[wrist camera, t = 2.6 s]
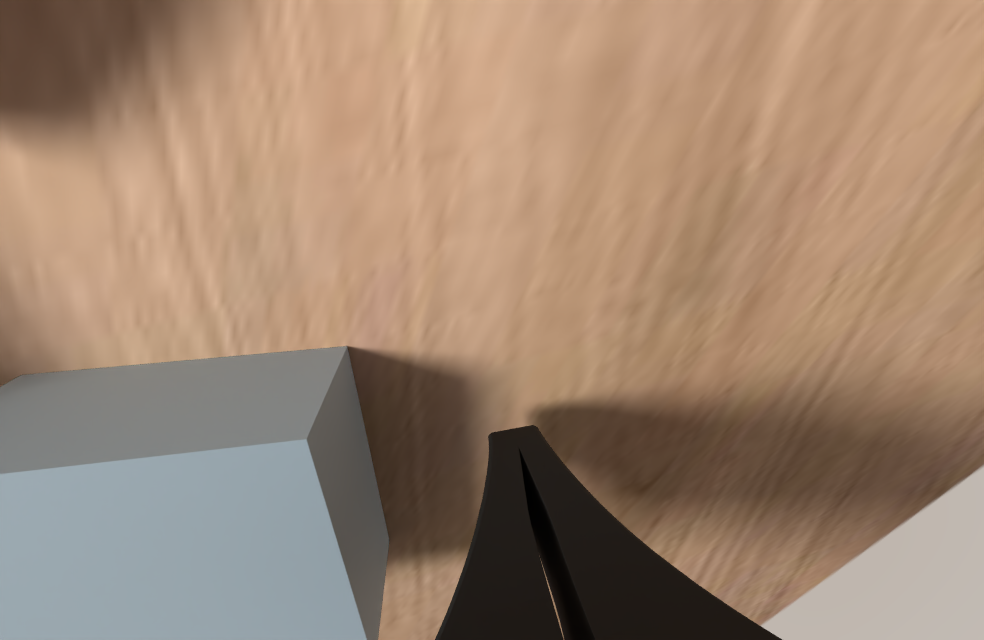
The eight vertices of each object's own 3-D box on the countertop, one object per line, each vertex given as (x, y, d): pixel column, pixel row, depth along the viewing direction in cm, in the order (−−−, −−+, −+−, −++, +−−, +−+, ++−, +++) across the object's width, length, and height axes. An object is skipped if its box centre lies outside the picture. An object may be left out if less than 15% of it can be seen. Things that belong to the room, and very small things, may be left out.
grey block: (390, 533, 14) (375, 665, 11) (154, 566, 13) (50, 723, 10) (349, 340, 11) (306, 439, 7) (31, 369, 10) (-198, 496, 6)
